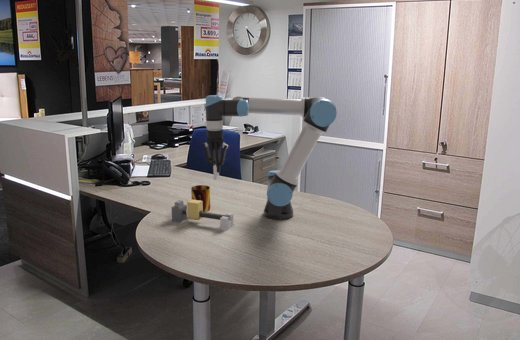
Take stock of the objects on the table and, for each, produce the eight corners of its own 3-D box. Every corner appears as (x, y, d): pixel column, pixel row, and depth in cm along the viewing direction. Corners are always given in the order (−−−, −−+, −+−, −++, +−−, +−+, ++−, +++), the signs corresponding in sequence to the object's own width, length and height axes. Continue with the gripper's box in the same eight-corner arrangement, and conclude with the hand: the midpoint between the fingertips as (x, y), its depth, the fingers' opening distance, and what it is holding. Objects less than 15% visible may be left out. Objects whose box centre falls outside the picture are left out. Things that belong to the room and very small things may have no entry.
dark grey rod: (229, 220, 214) (229, 213, 213) (226, 223, 211) (226, 216, 210) (178, 212, 224) (178, 206, 223) (174, 215, 221) (174, 208, 220)
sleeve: (203, 217, 220) (202, 200, 218) (198, 220, 216) (198, 203, 214) (192, 215, 222) (191, 199, 220) (187, 218, 218) (187, 201, 216)
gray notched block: (233, 224, 216) (233, 213, 215) (226, 230, 209) (225, 218, 207) (228, 223, 217) (228, 212, 216) (220, 229, 210) (220, 218, 208)
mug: (199, 216, 228) (198, 193, 225) (189, 208, 239) (188, 186, 236) (216, 213, 232) (216, 190, 229) (206, 205, 244) (205, 184, 241)
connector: (187, 218, 224) (186, 200, 222) (180, 222, 219) (180, 203, 217) (178, 216, 226) (177, 199, 224) (172, 220, 221) (171, 202, 218)
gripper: (231, 128, 208) (232, 177, 214) (205, 127, 213) (207, 175, 218) (224, 131, 201) (225, 182, 207) (198, 129, 206) (200, 179, 212)
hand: (216, 178), depth 213 cm, fingers closed
